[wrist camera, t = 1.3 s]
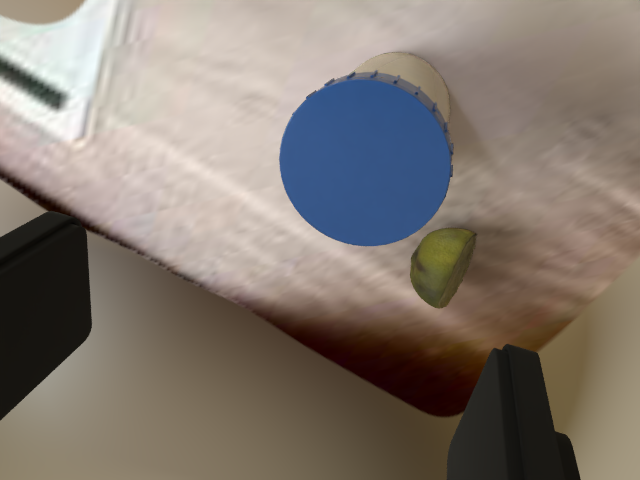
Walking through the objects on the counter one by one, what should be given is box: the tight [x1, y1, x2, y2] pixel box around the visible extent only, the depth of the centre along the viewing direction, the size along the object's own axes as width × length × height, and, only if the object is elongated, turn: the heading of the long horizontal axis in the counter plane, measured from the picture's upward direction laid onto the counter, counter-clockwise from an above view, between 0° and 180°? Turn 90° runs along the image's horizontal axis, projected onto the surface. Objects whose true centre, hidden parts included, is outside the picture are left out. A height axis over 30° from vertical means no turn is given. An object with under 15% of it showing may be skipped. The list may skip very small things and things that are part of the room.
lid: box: [279, 70, 454, 246], centre depth 21 cm, size 7×7×2 cm
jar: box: [351, 52, 450, 127], centre depth 25 cm, size 6×6×11 cm
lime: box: [410, 228, 477, 308], centre depth 31 cm, size 4×5×5 cm
